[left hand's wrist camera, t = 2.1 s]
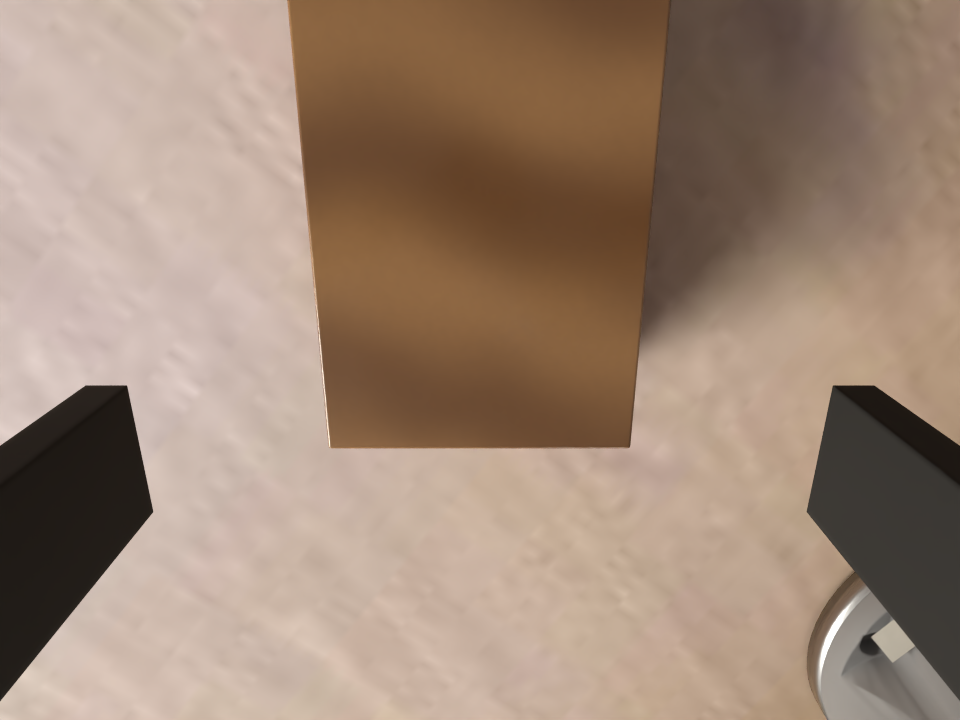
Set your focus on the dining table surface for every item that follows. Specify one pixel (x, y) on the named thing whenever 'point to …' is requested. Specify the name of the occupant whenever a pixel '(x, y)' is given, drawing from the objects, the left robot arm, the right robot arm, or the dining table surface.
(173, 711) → the dining table surface
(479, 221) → the long beam
